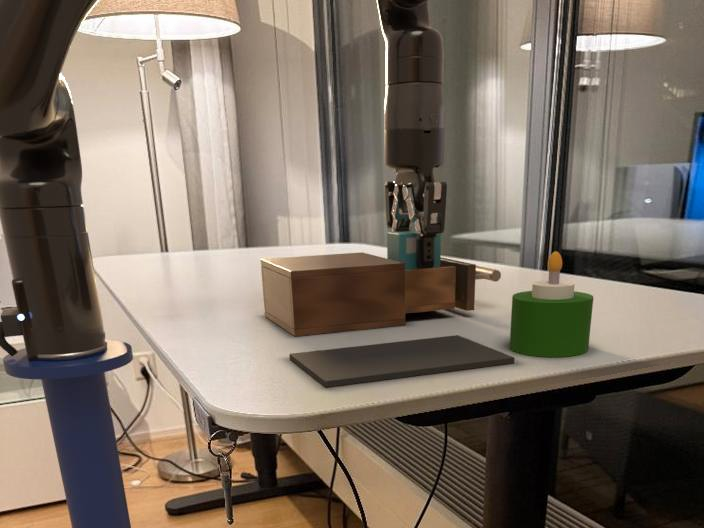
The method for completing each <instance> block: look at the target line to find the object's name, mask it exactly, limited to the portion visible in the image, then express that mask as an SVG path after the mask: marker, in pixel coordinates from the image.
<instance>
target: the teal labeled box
mask: <svg viewBox="0 0 704 528" xmlns="http://www.w3.org/2000/svg"><path fill="white" fill-rule="evenodd" d="M416 239H420V238H418V237H417V234H416V230H411V231H402V232H392V231H387V232H386V258H387V259H391V260H395V261H399V262H403V263H405V270H411V269H419V268H417V266H416ZM441 251H442V233H438V235H437V237H434V266H433V268H437V267H440V258H441Z"/></svg>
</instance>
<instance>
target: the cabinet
mask: <svg viewBox="0 0 704 528" xmlns="http://www.w3.org/2000/svg"><path fill="white" fill-rule="evenodd" d="M260 269H261V282H262V295H263V297H262V298H263V308H264V317H265V318H267V320H270V321H271V322H272V323H274V324H275V325H277V326H279V327H280V328H282V329H283V330H285V331H286V332H287V333H289V334H291V335H292V336H294V337H303V336H313V335H323V334H330V333H331V334H332V333H333V334H334V333H342V332H351V331H363V330H371V329H382V328H389V327H400V326H406V313H405V263H403V262H399V261H395V260H391V259H387V257H383V256H378V255H374V254H371V253H368V252H367V253H366V252H348V253H347V252H346V253H331V254H318V255H317V254H316V255H301V256H300V255H299V256H288V257H271V258H260Z"/></svg>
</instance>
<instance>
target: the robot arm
mask: <svg viewBox="0 0 704 528" xmlns="http://www.w3.org/2000/svg"><path fill="white" fill-rule="evenodd" d="M99 1H100V0H0V224H1V230H2V234H3V235H2V236H3V239H4V244H5V248H6V253H7V258H8V264H9V267H10V272H11V277H12V279H11V286H12V291H13V295H14V301H15V304H16V308H5V309H4V308H3V309H2V312H1V314H0V320H1V321H0V348H1V349H2V350H4V351H5V352H6V353H7V354H10V355H11V356H14V355H15V354H16V353H18V351H17V350H18V349H16V348H15V347H14V346H13V345H12V344H10V343H9V342H8V341H7V340H6V338H9V337H21V336H22V338H23V342H24V348H26V352H27V357H28V361H29V362H31V361H67V360H76V359H82V358H87V357H92V356H96V355H99V354H101V353H104V352H105V351H107V350H108V345H107V341H106V340H107V338H106V332H105V327H104V321H103V315H102V309H101V302H100V298H99V297H100V296H99V292H98V290H99V289H98V285H97V279H96V273H95V267H94V262H93V255H92V250H91V244H90V243H91V242H90V237H89V232H88V231H89V230H88V226H87V225H88V224H87V220H86V219H87V218H86V213H85V207H84V205H83V204H84V201H83V196H82V195H83V194H82V182H83V167H82V166H83V165H82V157H81V151H80V150H81V149H80V143H79V135H78V128H77V121H76V114H75V109H74V102H73V100H72V95H71V91H70V89H69V86H68V83H67V82H66V80H65V77H64V76H63V75H62V71H63V67H64V65H65V62H66V60H67V56H68V54H69V51H70V49H71V46H72V43H73V41H74V39H75V36H76V35H77V33H78V31H79V29H80V28H81V25H82V23H83V22H84V20H85V19H86V17H87V16H88V14H90V12H91V11H92V9H93V8H94V7H95V5H97V3H98V2H99ZM376 3H377V10H378V16H379V21H380V26H381V27H380V28H381V32H382V35H383V39H384V44H385V93H384V94H385V95H384V104H383V129H384V130H383V131H384V132H383V136H384V137H383V141H384V142H383V143H384V145H383V146H384V147H383V148H384V149H383V151H384V167H385V168H386V169H388V170H390V169H391V170H392V169H394V170H395V171H396V172H395V178H394V180H390V181H385V182H384V197H385V198H384V199H385V218H386V219H385V220H386V228H388V229H391V232H402V231H413V230H412V229H413V225H414V229H415V231H416V234H417V237H418V238H420V239H416V266H417V268H419V269H424V268H433V266H434V237H437V235H438V233H441V234H443V233H444V232H445V227H446V225H445V224H446V208H447V192H448V184H447V181H435V177H434V168H435V169H436V168H441V167H442V166H443V165H444V164H445V126H446V125H445V123H446V122H445V119H446V118H445V117H446V103H445V93H444V63H445V62H444V61H445V60H444V59H445V57H444V53H445V52H444V39H443V36H442V34H441V32H440V31H439V30H437V29H436V28H433V27H432V25H431V17H430V9H429V0H376Z"/></svg>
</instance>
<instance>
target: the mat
mask: <svg viewBox="0 0 704 528" xmlns="http://www.w3.org/2000/svg"><path fill="white" fill-rule="evenodd" d="M289 360H290V361H291V362H293V363H294V364H295V365H297V366H298V367H299V368H301V369H302V370H303V371H305V373H307V374H308V376H310V377H312V378H313V379H314V380H316V381H317V382H318V383H319V384H321V385H322V386H323V387H325V388H332V387H338V386H341V387H342V386H348V385H355V384H364V383H370V382H371V383H372V382H379V381H386V380H394V379H401V378H402V379H403V378H409V377H417V376H426V375H433V374H440V373H448V372H456V371H464V370H472V369H473V370H474V369H478V368H487V367H488V368H489V367H497V366H503V365H510V364H511V365H512V364H515V356H512V355H509V354H507V353H504V352H502V351H499V350H496V349H494V348H491V347H489V346H486V345H484V344H481V343H479V342H476V341H473V340H471V339H469V338H466V337H463V336H461V335H458V334H453V335H445V336H438V337H428V338H427V337H426V338H419V339H411V340H409V339H408V340H402V341H391V342H383V343H374V344H367V345H366V344H365V345H355V346H348V347H338V348H337V347H336V348H329V349H328V348H327V349H319V350H312V351H311V350H310V351H301V352H293V353H292V352H291V353H289Z"/></svg>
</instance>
